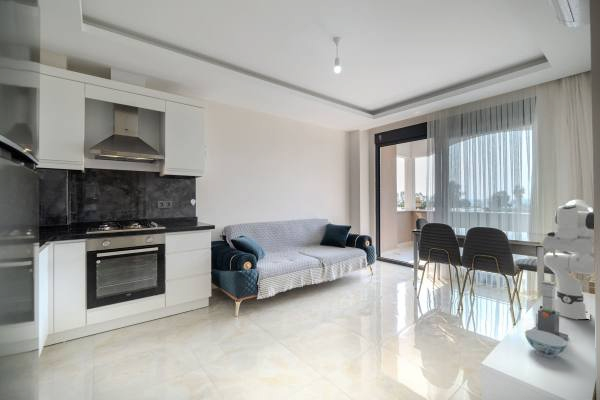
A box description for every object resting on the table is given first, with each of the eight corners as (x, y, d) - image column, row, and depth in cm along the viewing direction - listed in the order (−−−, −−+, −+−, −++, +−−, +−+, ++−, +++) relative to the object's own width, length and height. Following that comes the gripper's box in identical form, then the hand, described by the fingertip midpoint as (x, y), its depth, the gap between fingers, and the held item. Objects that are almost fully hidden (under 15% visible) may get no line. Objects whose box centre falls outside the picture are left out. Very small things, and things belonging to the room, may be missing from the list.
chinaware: (571, 356, 128) (571, 340, 128) (560, 366, 120) (560, 349, 120) (531, 341, 141) (531, 327, 141) (519, 350, 133) (519, 334, 133)
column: (544, 319, 150) (545, 280, 150) (555, 323, 146) (556, 282, 146) (541, 321, 148) (541, 281, 148) (552, 325, 144) (553, 284, 144)
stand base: (537, 327, 156) (537, 304, 156) (568, 337, 145) (568, 312, 145) (528, 333, 149) (528, 309, 149) (560, 344, 138) (560, 318, 138)
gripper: (596, 236, 143) (595, 262, 143) (545, 232, 160) (545, 255, 160) (592, 237, 140) (592, 263, 140) (541, 232, 157) (541, 256, 157)
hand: (566, 259), depth 150 cm, fingers open, 8 cm apart
